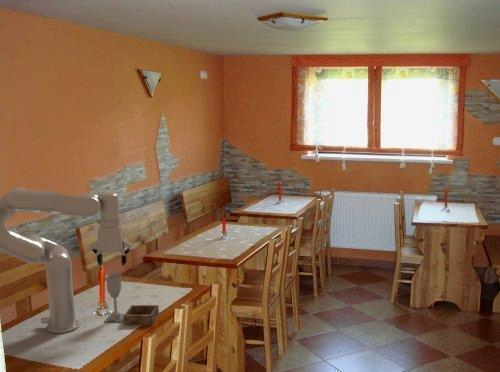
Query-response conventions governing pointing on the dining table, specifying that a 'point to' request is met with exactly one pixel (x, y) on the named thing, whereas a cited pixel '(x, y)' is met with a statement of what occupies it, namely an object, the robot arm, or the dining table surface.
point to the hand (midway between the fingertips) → (112, 264)
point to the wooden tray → (141, 315)
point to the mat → (114, 320)
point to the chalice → (114, 292)
